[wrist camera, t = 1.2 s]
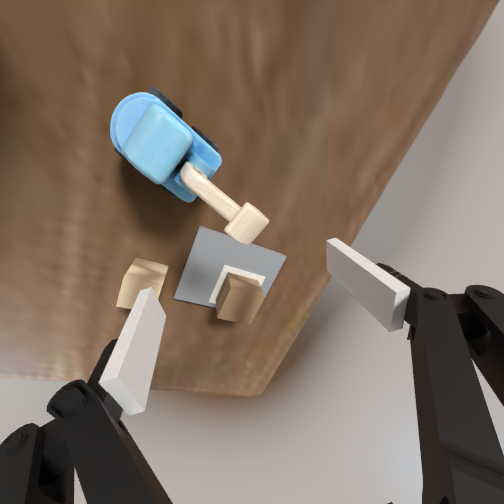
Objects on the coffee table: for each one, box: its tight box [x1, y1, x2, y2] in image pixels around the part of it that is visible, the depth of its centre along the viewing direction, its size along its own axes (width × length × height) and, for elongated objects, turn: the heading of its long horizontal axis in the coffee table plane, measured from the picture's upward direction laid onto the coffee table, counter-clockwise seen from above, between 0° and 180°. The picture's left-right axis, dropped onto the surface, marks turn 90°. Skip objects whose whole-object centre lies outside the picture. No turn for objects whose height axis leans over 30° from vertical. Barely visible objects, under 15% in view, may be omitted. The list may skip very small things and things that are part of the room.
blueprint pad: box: [174, 226, 286, 308], centre depth 38 cm, size 16×14×1 cm
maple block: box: [116, 258, 168, 309], centre depth 33 cm, size 5×5×6 cm
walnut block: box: [216, 272, 265, 325], centre depth 37 cm, size 6×6×5 cm
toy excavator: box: [110, 86, 269, 246], centre depth 22 cm, size 9×17×17 cm, turn 48°
